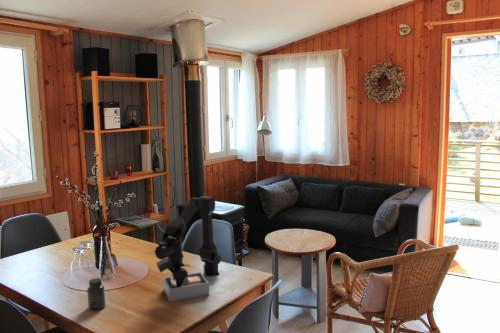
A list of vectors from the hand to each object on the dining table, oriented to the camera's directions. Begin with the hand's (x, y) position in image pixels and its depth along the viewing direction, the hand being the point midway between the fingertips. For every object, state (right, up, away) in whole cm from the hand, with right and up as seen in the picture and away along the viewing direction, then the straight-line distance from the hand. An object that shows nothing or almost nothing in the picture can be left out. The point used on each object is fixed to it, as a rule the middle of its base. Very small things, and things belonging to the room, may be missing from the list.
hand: (176, 285), depth 197 cm
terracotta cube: (+7, -3, +3) cm, 8 cm away
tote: (+4, -4, +2) cm, 6 cm away
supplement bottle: (-32, -6, -12) cm, 34 cm away
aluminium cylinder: (0, -3, +1) cm, 3 cm away
